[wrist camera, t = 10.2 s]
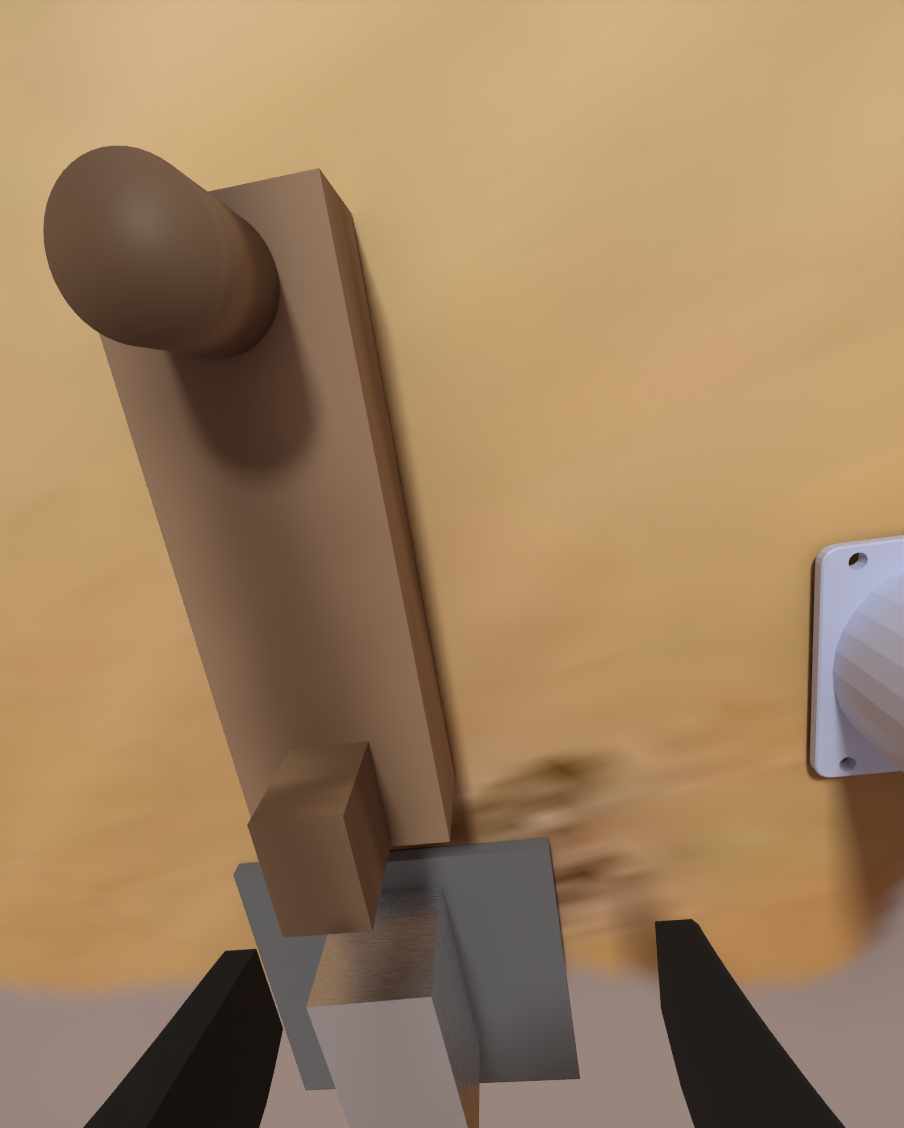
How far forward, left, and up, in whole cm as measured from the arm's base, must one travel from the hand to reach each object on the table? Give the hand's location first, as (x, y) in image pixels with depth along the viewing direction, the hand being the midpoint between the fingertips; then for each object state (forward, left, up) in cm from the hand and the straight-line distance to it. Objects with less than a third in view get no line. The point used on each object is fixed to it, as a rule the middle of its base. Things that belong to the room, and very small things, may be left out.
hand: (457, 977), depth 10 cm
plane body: (+4, -6, -9) cm, 12 cm away
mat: (+4, +12, -9) cm, 16 cm away
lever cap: (+4, +11, -9) cm, 15 cm away
